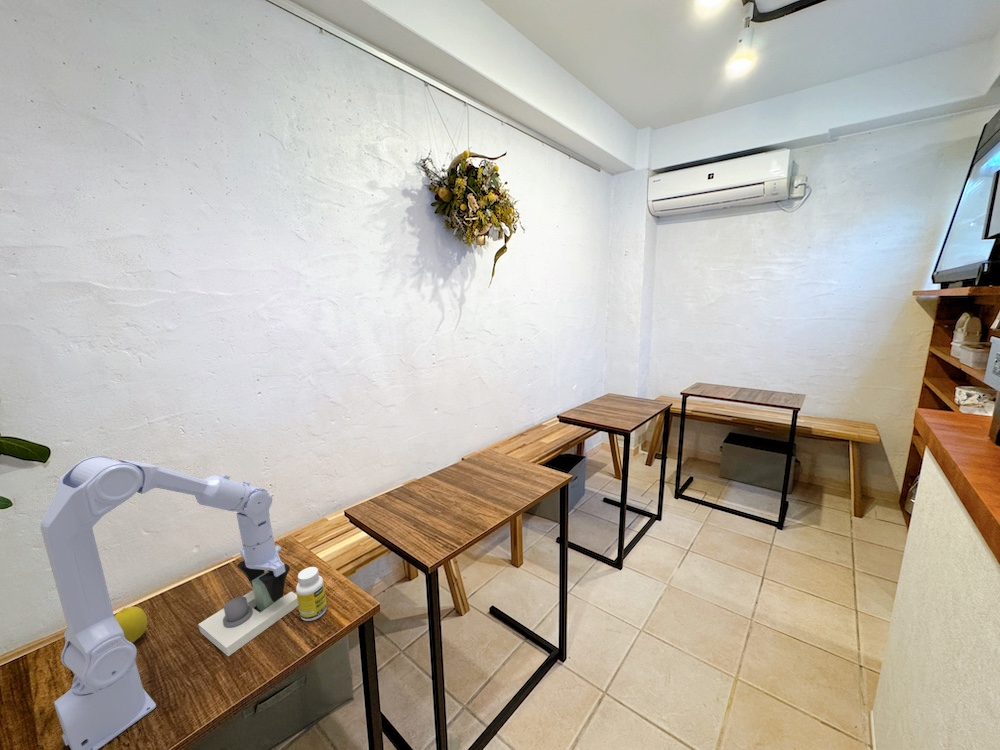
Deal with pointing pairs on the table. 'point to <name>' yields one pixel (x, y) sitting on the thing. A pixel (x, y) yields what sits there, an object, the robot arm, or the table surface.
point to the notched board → (243, 621)
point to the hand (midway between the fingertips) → (268, 592)
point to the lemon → (132, 622)
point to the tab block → (261, 594)
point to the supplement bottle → (311, 594)
